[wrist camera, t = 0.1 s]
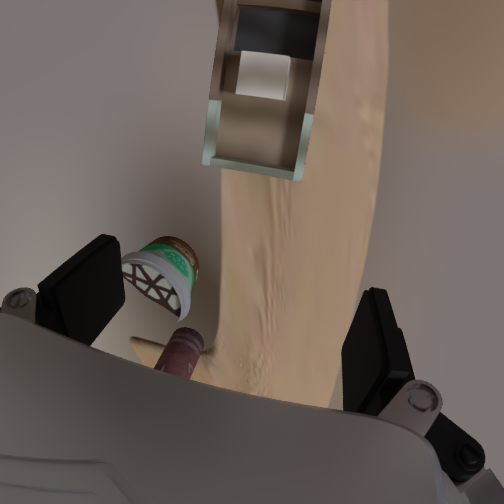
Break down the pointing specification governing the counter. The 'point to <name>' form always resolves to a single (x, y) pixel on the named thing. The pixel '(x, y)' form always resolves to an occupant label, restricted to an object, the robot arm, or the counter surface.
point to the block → (263, 75)
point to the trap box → (258, 108)
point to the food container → (164, 273)
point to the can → (181, 353)
